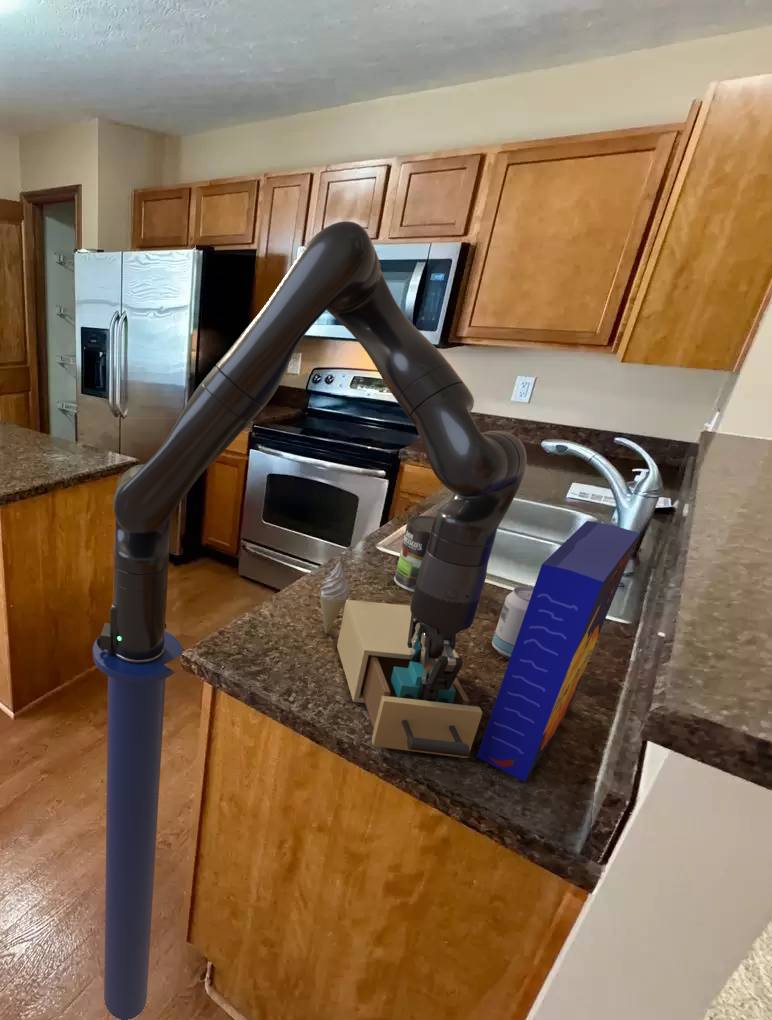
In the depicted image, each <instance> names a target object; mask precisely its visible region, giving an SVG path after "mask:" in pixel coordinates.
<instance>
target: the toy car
mask: <svg viewBox="0 0 772 1020" xmlns="http://www.w3.org/2000/svg"><path fill="white" fill-rule="evenodd" d="M432 670H433V668H432V669H431V670H430V674H431V672H432ZM422 674H423V666H422V665H421V663H419V662H410V664H409V667H408V668H402V667H394V669H393V673H392V677H391V682H392V685H393V687H394V690H395V692H396V695H397V697H398V698H406V699H415V700H416V699H417V696H418V692H419V688H420V684H421V680H422ZM455 693H456V691H455V689H454V687H453V685H451V687H450V689H449V690H440V689H439V691H438V695H437V698H436V702H441V703H450V704H452V703H453V699H454V696H455Z"/></svg>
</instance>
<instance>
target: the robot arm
mask: <svg viewBox="0 0 772 1020" xmlns="http://www.w3.org/2000/svg"><path fill="white" fill-rule="evenodd" d="M325 312H328V313H329V314H330V315H331V316H332V317H334V318H335V319H336V320H337V321H338V322H339V323H340V324H341V325H342V326H343V327H344V328H345V329H346V330H347V331H348V332H349V333H350V334H351V335H352V336H353V337H354V338H355V340H356V341H357V342H358V343H359V344H360V345H361V347H362V348H363V349H364V351H365V352H366V354H367V355H368V357H369V358H370V360H371V362H372V364H373V365H374V367H375V368H376V370H377V372H378V374H379V375H380V377H381V379H382V380H383V382H384V383H385V386H386V387H387V388H388V390H389V392H390V393H391V394H392V396H393V398H394V399H395V401H397V403H398V405H399V406H400V408H401V409H402V410H403V412H404V413H405V414H406V416H407V417H408V419H409V420H410V421H411V423H412V424H413V425H414V426H415V428H416V429H417V433H418V436H419V440H420V442H421V446H422V448H423V450H424V453H425V456H426V458H427V461H428V463H429V465H430V468H431V470H432V472H433V473H434V475H435V477H436V478H437V479H438V481H439V482H440V483H441V484H442V485H443V486H444V487H445V488H446V489H448V491H450V492H452V493H453V495H452V497H451V499H450V501H449V502H448V503H447V504H445V506H443V507H442V508H441V509H440V510H438V512H437V513H436V514H435V516H434V517H435V519H434V522H433V526H432V530H431V533H430V537H429V541H428V546H427V550H426V553H425V555H424V557H423V560H422V562H421V565H420V569H419V573H418V577H417V581H416V585H415V589H414V592H412V593H413V595H412V597H411V603H410V605H409V606H410V610H411V621H410V628H409V636H408V642H407V645H408V648H412V649H411V651H410V658H411V662H419V663H421V665H422V666H423V674H422V680H421V684H420V688H419V692H418V696H417V699H416V700H424V701H432V702H436V698H437V695H438V691H439V689H440V690H449V689H450V687H451V685H452V684H453V682H454V680H455V678H457V676H458V674H459V673H460V670H461V668H463V663H464V662H463V658H462V657H459V658H457V657H454V654H453V650H456V645H457V634H459V633H460V632H462V631H464V630H468V629H469V628H470V627H472V625H473V623H474V619H475V616H476V613H477V611H478V610H477V609H478V606H479V603H480V599H481V596H482V593H483V590H484V586H485V583H486V579H487V573H488V566H489V561H490V558H491V555H492V550H493V547H494V544H495V541H496V536H497V532H498V530H499V528H500V524H501V523H502V521H503V519H504V518H505V516H506V515H507V513H508V511H509V509H510V507H511V505H512V503H513V501H514V499H515V498H516V495H517V494H518V491H519V489H520V487H521V485H522V482H523V479H524V476H525V473H526V470H527V451H526V448H525V446H524V443H523V442H522V441H521V440H520V439H519V437H517V436H516V435H515V434H513V433H511V432H508V431H505V430H488V431H484V432H481V431H480V429H479V428H478V426H477V425H476V422H475V420H474V419H473V417H472V414H471V412H472V410H473V409H474V405H475V399H474V396H473V394H472V392H471V391H470V389H469V388H468V386H467V385H466V383H465V382H464V381H463V379H462V378H461V377H460V376H459V374H458V373H457V371H456V370H455V369H454V368H453V366H452V365H451V364H450V362H449V361H448V360H447V359H446V357H444V355H443V354H442V353H441V352H440V350H439V349H438V348H437V347H436V346H435V345H434V344H433V343H432V342H431V341H430V340H429V339H428V338H427V337H426V336H425V335H424V334H423V333H422V332H421V331H420V330H419V329H418V328H417V327H416V326H415V325H414V324H413V323H412V322H411V321H410V320H409V319H408V317H407V316H406V314H405V313H404V312H403V311H402V309H401V308H400V306H399V305H398V303H397V301H396V300H395V298H394V296H393V294H392V291H391V290H390V287H389V286H388V283H387V281H386V279H385V276H384V275H383V272H382V269H381V262H380V258H379V256H378V253H377V251H376V249H375V246H374V245H373V241H372V239H371V237H370V236H369V234H368V232H367V230H366V229H365V228H364V227H363V226H362V225H360V224H359V223H357V222H354V221H349V220H348V221H347V220H346V221H338V222H335V223H332V224H329V225H327V226H326V227H324V228H322V230H320V231H319V232H318V233H316V234H315V235H314V236H313V237H312V238H311V239H310V240H309V241H308V242H307V244H305V246H304V248H302V250H301V252H300V253H299V254H298V256H297V257H296V259H295V260H294V262H293V264H292V265H291V266H290V267H289V269H288V271H287V272H286V273H285V275H284V276H283V278H282V279H281V281H280V282H279V284H278V286H276V289H275V290H274V292H273V293H272V295H271V296H270V297H269V299H268V300H267V301H266V303H265V305H264V306H263V307H262V308H261V309H260V311H259V312H258V313H257V315H256V316H255V317H254V318H253V320H252V321H251V322H250V323H249V325H247V327H246V328H245V329H244V331H243V332H242V333H241V334H240V336H239V337H238V339H236V341H235V342H234V343H233V345H232V346H231V347H230V348H229V349H228V351H227V352H226V353H225V354H224V355H223V357H221V358H220V360H219V361H218V362H217V363H216V364H215V366H213V367H212V369H211V370H210V372H209V373H208V374H207V375H206V377H204V378H203V380H202V381H201V383H200V384H199V385H198V387H197V388H196V389H195V391H194V392H193V394H192V396H191V397H190V398H189V400H188V401H187V402H186V404H185V406H184V408H183V410H182V411H181V413H180V415H179V416H178V418H177V420H176V422H175V424H174V425H173V427H172V429H171V431H170V432H169V434H168V436H167V438H166V439H165V441H163V443H162V445H161V446H160V448H158V450H157V451H156V452H155V453H154V454H153V456H152V457H151V458H150V459H149V460H148V461H147V462H146V463H144V464H137V465H134V466H132V467H130V468H128V469H127V470H126V471H124V472H123V473H122V475H120V477H119V479H118V480H117V483H116V486H115V491H114V495H113V500H112V508H113V509H112V510H113V514H114V515H113V516H114V518H115V519H114V523H115V524H114V527H115V528H114V541H113V567H112V569H113V570H112V571H113V573H112V575H113V576H112V577H113V578H112V581H113V582H112V603H111V605H110V607H109V608H110V610H109V622H105V623H104V625H103V627H102V630H101V633H100V635H99V636H98V637H97V638H96V639H97V645H98V647H99V648H100V649H101V650H102V651H103V650H110V656H115V657H117V658H118V659H120V660H122V661H124V662H128V663H132V664H146V663H151V662H154V661H156V660H158V659H159V658H160V657H161V656H162V655H163V653H164V635H165V631H166V630H167V622H166V617H167V601H168V600H167V599H168V598H167V597H168V583H169V581H168V579H169V565H170V564H169V562H170V546H171V545H170V543H171V519H172V515H173V514H174V512H175V511H176V509H177V508H178V506H180V504H181V502H182V501H183V499H184V498H185V496H186V495H187V494H188V492H189V491H190V490H191V488H192V487H193V485H194V484H195V483H196V482H197V480H198V479H199V478H200V476H202V474H203V473H204V472H205V471H206V470H207V469H208V468H209V467H210V466H211V465H212V464H213V463H214V462H215V461H216V460H217V459H218V458H219V457H220V456H221V455H222V454H223V453H224V452H225V451H226V449H227V448H229V446H231V444H232V443H233V442H234V441H235V440H236V439H237V437H238V436H239V435H240V434H241V433H243V431H244V430H245V429H246V428H248V426H249V425H250V424H251V423H252V422H253V420H254V419H255V418H256V417H257V416H258V415H259V413H260V412H261V411H262V410H263V409H264V407H266V406H267V404H268V403H269V402H270V401H271V399H272V397H273V396H274V395H275V393H276V391H277V390H278V388H279V386H280V384H281V382H282V380H283V377H284V375H285V373H286V371H287V369H288V367H289V365H290V363H291V360H292V358H293V356H294V354H295V352H296V350H297V348H298V346H299V344H300V343H301V342H302V340H303V338H304V337H305V335H306V334H307V333H308V331H309V330H310V329H311V328H312V327H313V325H314V324H315V323H316V322H317V321H318V320H319V319H320V318H321V316H323V314H324V313H325ZM431 658H433V659H436V661H431V660H430V659H431ZM432 668H433V670H432V672H431V674H430V670H431V669H432Z"/></svg>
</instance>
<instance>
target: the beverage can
mask: <svg viewBox="0 0 772 1020" xmlns="http://www.w3.org/2000/svg"><path fill="white" fill-rule="evenodd" d="M533 589H534V587H530V586H517V587H514V589H513V590H512V591H511V592H510V593H509V594H508V595H506V596H505V600H504V603H503V606H502V609H501V612H500V616H499V619H498V622H497V626H496V628H495V631H494V634H493V638H492V641H491V645H492V647H493V648H494V650H496V651H497V653H498V654H499V655H501V656H502V657H504V658H506V659H508V660H510V657H511V654H512V651H513V648H514V645H515V642H516V639H517V636H518V633H519V630H520V628H521V625H522V622H523V619H524V616H525V613H526V610H527V607H528V604H529V601H530V598H531V595H532V592H533Z"/></svg>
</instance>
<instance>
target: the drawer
mask: <svg viewBox="0 0 772 1020" xmlns="http://www.w3.org/2000/svg"><path fill="white" fill-rule="evenodd" d="M410 662H411V659H402V658H392V657H383V656H373V655H369V656H368V661H367V665H366V670H365V674H364V679H363V683H362V688H361V691H362V694H363V697H364V700H365V703H364V704H365V707H366V710H367V712H368V716H369V720H370V722H371V726H372V728H373V731H372V735H371V740H370V741H371V744H372V747H375V748H384V749H392V750H400V751H408V752H415V753H416V752H417V753H423V754H424V753H425V754H431V755H440V756H447V757H455V758H456V757H457V758H464V759H468V758H469V756H470V752H471V749H472V746H473V743H474V740H475V737H476V734H477V731H478V728H479V725H480V722H481V719H482V716H483V710H482V709H481V707H480V706H476V705H470V701H471V700H470V698H469V697H468V695H467V694H466V692H465V690H464V688H463V686H462V685H461V683H460V680H459V679H458V678H457V677H456V678H455V680H454V682H453V684H452V685H453V687H454V689H455V691H456V693H455V696H454V699H453V703H452V704H450V703H441V702H432V701H424V700H415V699H406V698H398V697H397V695H396V692H395V690H394V687H393V685H392V682H391V677H392V673H393V669H394V667H402V668H408V667H409V664H410Z"/></svg>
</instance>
